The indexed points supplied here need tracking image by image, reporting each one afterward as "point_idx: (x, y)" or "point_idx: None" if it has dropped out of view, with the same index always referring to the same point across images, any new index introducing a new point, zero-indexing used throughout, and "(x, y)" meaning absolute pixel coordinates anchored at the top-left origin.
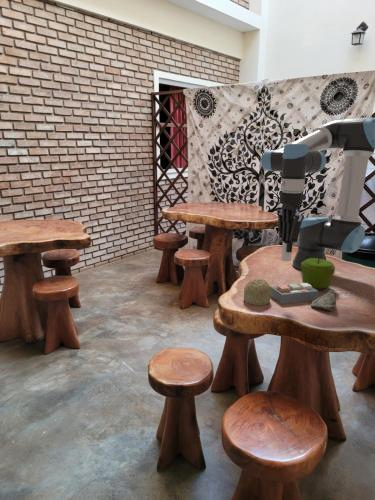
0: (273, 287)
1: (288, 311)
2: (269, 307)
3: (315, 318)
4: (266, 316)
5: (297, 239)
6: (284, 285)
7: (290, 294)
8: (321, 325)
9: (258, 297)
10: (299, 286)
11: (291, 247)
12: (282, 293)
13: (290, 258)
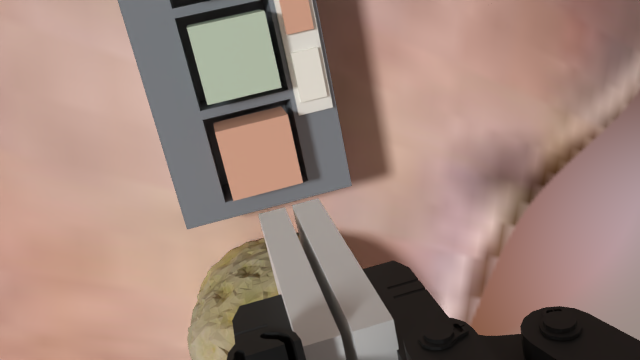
0: (201, 212)
1: (441, 155)
2: (377, 248)
3: (548, 29)
4: (484, 286)
5: (618, 330)
6: (229, 143)
7: (339, 122)
8: (626, 33)
9: None
10: (255, 21)
11: (429, 304)
12: (327, 178)
13: (326, 214)
